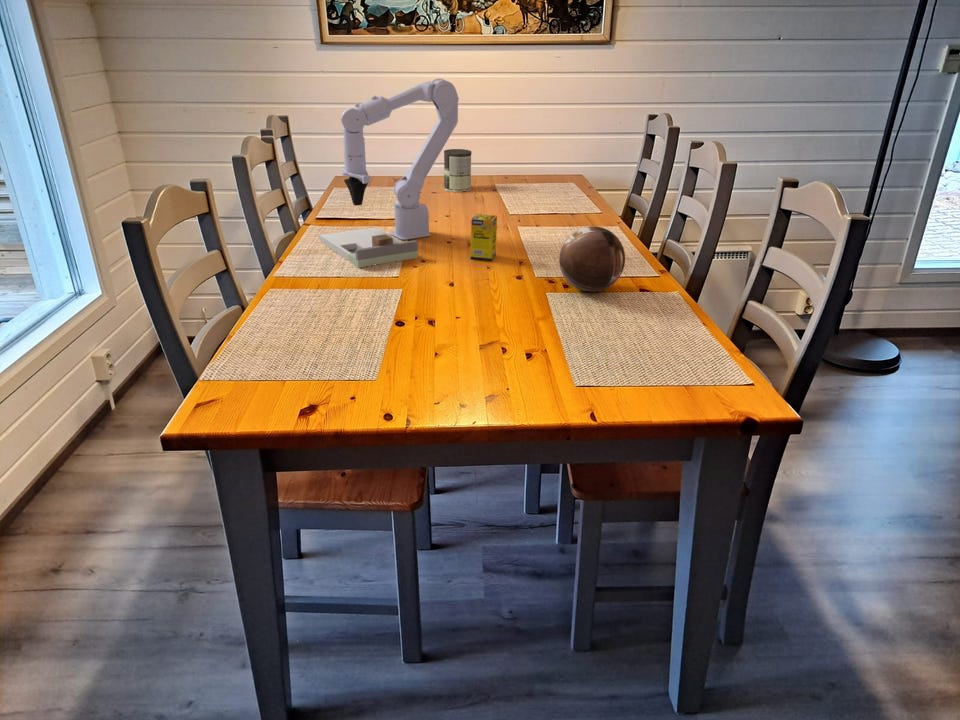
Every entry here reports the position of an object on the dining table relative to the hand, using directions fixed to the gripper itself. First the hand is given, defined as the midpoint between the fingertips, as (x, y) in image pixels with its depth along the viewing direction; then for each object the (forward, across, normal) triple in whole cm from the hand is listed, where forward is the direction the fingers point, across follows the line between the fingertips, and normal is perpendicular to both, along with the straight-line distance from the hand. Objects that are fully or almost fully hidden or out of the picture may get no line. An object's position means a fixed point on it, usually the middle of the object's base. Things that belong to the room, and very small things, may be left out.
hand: (357, 204), depth 185 cm
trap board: (+9, +12, -3) cm, 16 cm away
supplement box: (+10, +33, +21) cm, 40 cm away
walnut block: (+7, +22, -3) cm, 23 cm away
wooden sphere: (+10, +66, +29) cm, 73 cm away
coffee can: (+10, -42, +59) cm, 73 cm away
